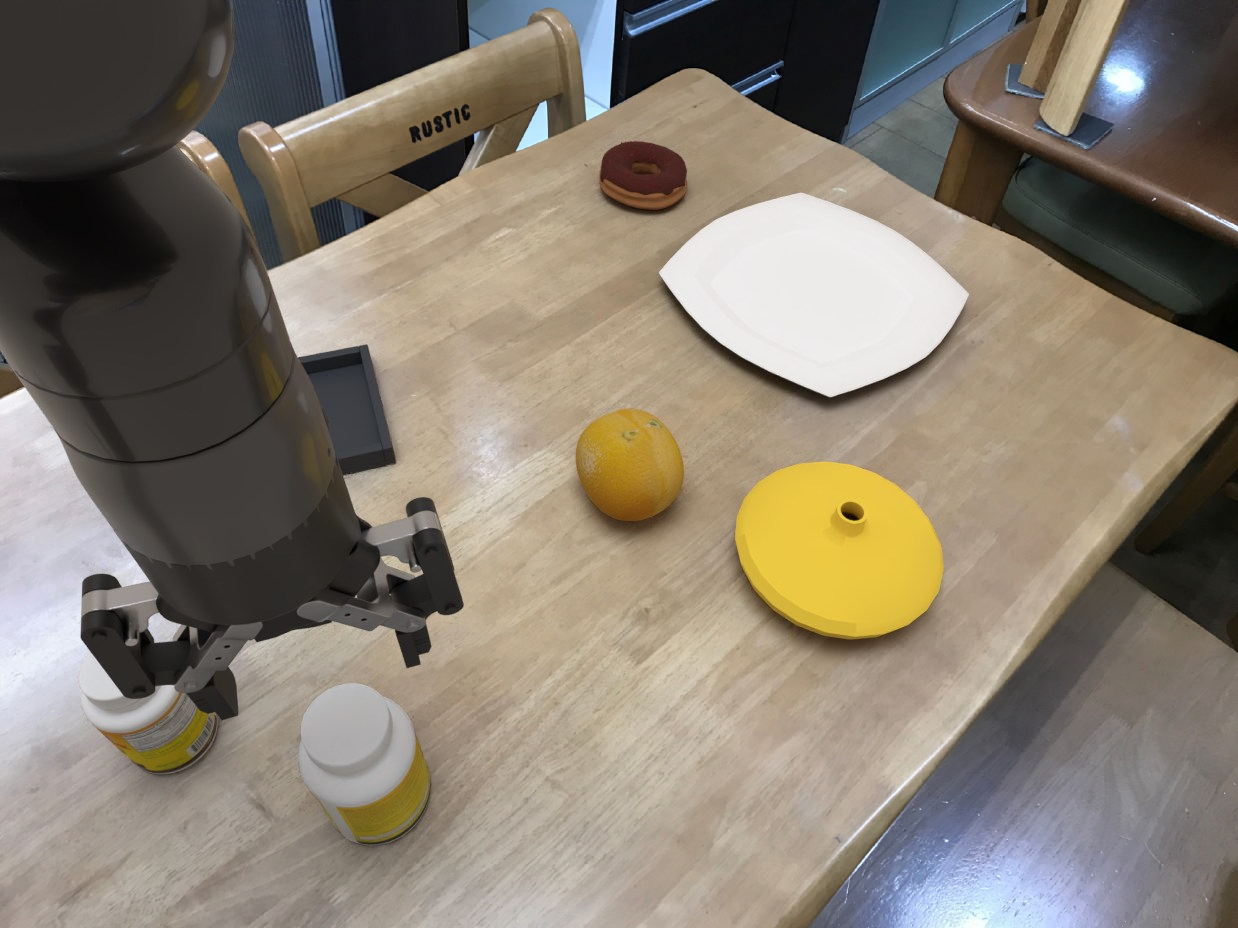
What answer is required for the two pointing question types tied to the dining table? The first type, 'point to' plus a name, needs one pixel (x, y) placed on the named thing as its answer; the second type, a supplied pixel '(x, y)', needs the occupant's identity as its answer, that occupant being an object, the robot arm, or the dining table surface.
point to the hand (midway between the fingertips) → (322, 674)
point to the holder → (351, 407)
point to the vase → (838, 550)
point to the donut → (643, 175)
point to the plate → (815, 293)
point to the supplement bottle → (146, 722)
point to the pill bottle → (364, 764)
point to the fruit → (629, 464)
